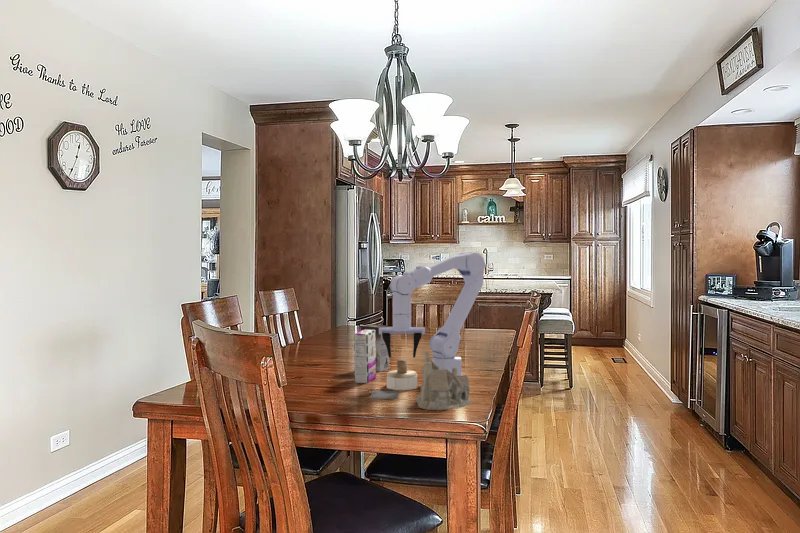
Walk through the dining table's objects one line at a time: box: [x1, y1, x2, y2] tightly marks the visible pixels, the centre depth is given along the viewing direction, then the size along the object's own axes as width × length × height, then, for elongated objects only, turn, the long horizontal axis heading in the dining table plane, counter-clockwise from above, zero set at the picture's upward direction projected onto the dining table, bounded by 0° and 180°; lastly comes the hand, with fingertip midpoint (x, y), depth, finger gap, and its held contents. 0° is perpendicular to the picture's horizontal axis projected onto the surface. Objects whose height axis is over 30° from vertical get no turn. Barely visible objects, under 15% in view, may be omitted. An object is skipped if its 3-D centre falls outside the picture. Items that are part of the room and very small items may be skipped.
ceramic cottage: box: [415, 350, 472, 411], centre depth 169 cm, size 16×16×15 cm
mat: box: [369, 390, 399, 400], centre depth 178 cm, size 8×10×1 cm
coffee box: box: [360, 323, 390, 373], centre depth 220 cm, size 9×6×16 cm
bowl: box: [386, 375, 418, 391], centre depth 189 cm, size 10×10×4 cm
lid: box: [386, 358, 418, 378], centre depth 189 cm, size 9×9×5 cm
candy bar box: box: [353, 330, 377, 384], centre depth 200 cm, size 11×5×16 cm, turn 168°
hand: (402, 356), depth 189 cm, fingers open, 7 cm apart
